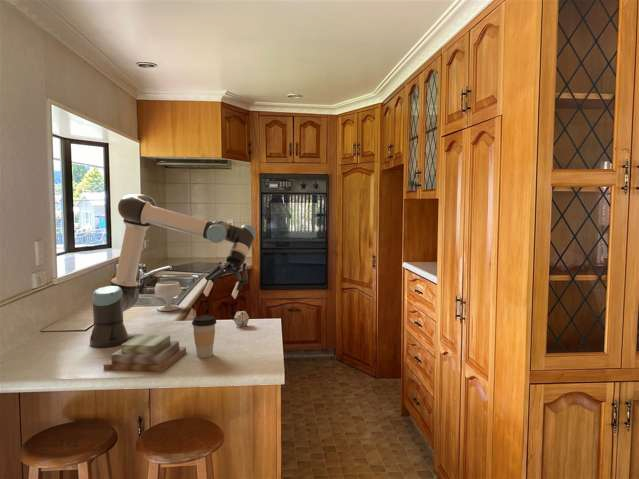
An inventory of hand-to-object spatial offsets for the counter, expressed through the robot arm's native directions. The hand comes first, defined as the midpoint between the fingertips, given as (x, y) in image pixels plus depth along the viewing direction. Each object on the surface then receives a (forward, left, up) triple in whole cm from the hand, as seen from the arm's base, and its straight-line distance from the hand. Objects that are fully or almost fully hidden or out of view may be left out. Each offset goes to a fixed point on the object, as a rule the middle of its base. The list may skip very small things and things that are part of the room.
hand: (219, 295), depth 191 cm
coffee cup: (-3, -10, -22) cm, 24 cm away
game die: (0, +32, -22) cm, 39 cm away
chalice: (-51, +63, -22) cm, 84 cm away
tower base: (-23, -18, -22) cm, 36 cm away
